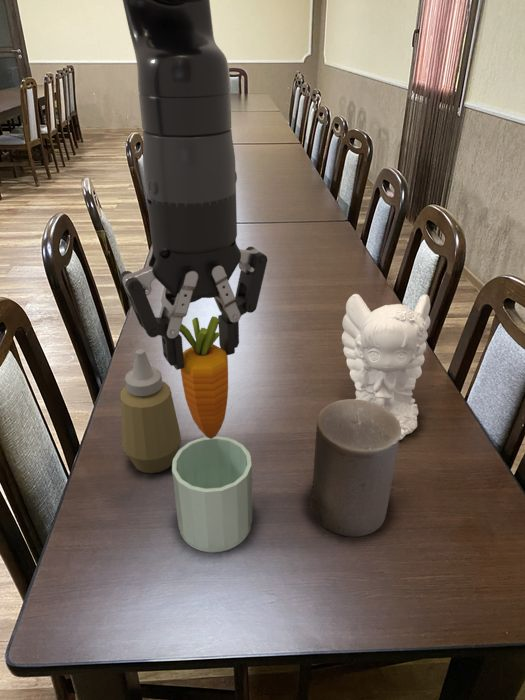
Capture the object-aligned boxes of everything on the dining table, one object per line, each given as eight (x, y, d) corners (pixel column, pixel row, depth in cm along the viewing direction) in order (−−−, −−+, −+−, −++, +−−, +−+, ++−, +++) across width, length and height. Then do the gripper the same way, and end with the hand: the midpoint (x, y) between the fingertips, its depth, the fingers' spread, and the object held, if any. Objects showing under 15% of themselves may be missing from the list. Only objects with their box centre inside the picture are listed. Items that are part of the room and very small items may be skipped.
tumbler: (196, 564, 61) (190, 503, 56) (168, 511, 68) (160, 451, 63) (264, 533, 65) (265, 473, 60) (232, 485, 72) (229, 427, 67)
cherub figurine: (331, 436, 81) (341, 318, 70) (336, 388, 91) (346, 280, 81) (421, 447, 79) (445, 327, 68) (415, 397, 89) (436, 286, 79)
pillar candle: (298, 519, 67) (303, 426, 59) (327, 470, 74) (335, 381, 67) (374, 549, 63) (390, 453, 55) (396, 494, 71) (413, 403, 63)
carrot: (180, 446, 58) (164, 326, 50) (201, 419, 62) (189, 303, 54) (222, 458, 56) (212, 335, 48) (240, 429, 60) (234, 311, 52)
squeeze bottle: (179, 480, 73) (168, 369, 63) (119, 480, 73) (99, 369, 63) (186, 440, 80) (176, 335, 70) (131, 440, 80) (114, 335, 70)
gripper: (246, 168, 51) (248, 325, 60) (94, 187, 45) (121, 359, 54) (287, 186, 45) (282, 357, 54) (120, 210, 39) (145, 398, 48)
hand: (202, 357), depth 54 cm, fingers closed on carrot, 5 cm apart
